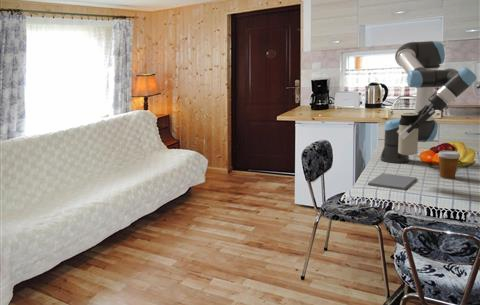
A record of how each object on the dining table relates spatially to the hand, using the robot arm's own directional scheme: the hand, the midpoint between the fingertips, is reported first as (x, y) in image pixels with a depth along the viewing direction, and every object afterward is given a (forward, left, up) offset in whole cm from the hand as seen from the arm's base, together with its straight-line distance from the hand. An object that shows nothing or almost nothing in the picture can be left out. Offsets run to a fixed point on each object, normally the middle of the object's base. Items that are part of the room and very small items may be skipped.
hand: (400, 135), depth 187 cm
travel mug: (-1, +3, -8) cm, 9 cm away
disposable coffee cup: (-23, +17, -22) cm, 36 cm away
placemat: (-1, -2, -22) cm, 22 cm away
